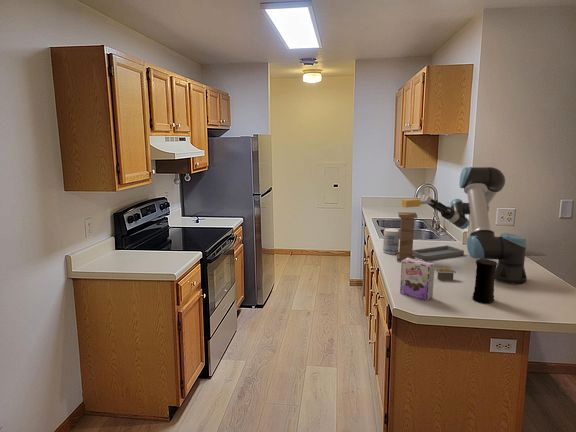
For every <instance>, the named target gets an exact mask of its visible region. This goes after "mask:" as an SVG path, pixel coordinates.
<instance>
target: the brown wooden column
mask: <svg viewBox="0 0 576 432" xmlns="http://www.w3.org/2000/svg"><path fill="white" fill-rule="evenodd" d="M397 214H398V218H400V228H399V250H398V253H397V254H395V255H396V257H397V258H396V257H395V258H396V262H397V261H402V260H403V259H406V258H411V259H415V260H416V257H414V255H412V251H413V250H414V248H413V247H414V230H415V228H414V226H415V219H418V214H417V212H410V211H409V212H407V211H399V212H398V213H397Z"/></svg>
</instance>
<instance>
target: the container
mask: <svg viewBox="0 0 576 432" xmlns="http://www.w3.org/2000/svg"><path fill="white" fill-rule="evenodd" d="M475 264H476V270H475V281H474V282H475V283H474V289H473V293H472V300H473V301H475V302H476V303H479V304H484V305H485V304H486V305H487V304H493V303H494V302H495V294H494V293H495V282H496V281H495V280H496V279H495V273H496V272H495V269H496V267H497V265H498V262H497V261H496V260H493V259H476V261H475Z"/></svg>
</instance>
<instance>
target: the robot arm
mask: <svg viewBox="0 0 576 432" xmlns="http://www.w3.org/2000/svg"><path fill="white" fill-rule="evenodd" d="M505 185H506V177H505V174H504V173H503V172H502V171H501V170H500V169H498V168H496V167H493V166H489V167H487V166H486V167H485V166H484V167H483V166H482V167H479V166H477V167H476V166H475V167H474V166H470V167H463V169H462V170H461V172H460V176H459V187H460V189H463V192H464V193H465V194H466V195H467V201H468V202H464V201H463V200H462V199H460V198H454V199H452V200H451V201H450V206H449V205H448V206H446V205H445V204H443V203H442V202H440V201H439V200H438V199H437V200H436V201H435V200H434V199H435V198H434V199H433V198H432V197H431V196H429V195H427V196H426V195H425V194H423V196H422V198H421V200H427V201H428V202H430V203H431V204H427V205H428V206H430V208H432V209H433V210H434V211H435V210H436V211H438V212H439V213H440V215H441V218H444V219H445V220H447V221H448V223H451V224H452V225H453V226H455V227H456V228H459V229H460V230H465V229H467V228H468V227H469V225H470V221H471V230H472V231H471V232H470V233H469V236H468V237H467V239H466V248H467V252H468V254H469V256H470V257H471V258H472V259H476V260H479V259H488V260H498V262H497V266H496V269H495V272H496V273H495V280H496V281H498V282H501V283H504V284H510V285H523V284H526V283H527V280H528V277H527V274H526V273H527V272H526V268H525V261H526V259H525V258H526V252H527V251H526V249H527V240H526V238H525V237H523V236H520V235H516V234H513V233H505V232H504V233H501V234H500V236H495V235H496V234H495V232H494V230H492V229H491V224H490V218H489V211H490V207H489V205H490V203H491V202H492V201H493V199H494V198H495V196H496V195H497V194H498V193H499V192H501V191H502V189H503V188H504V186H505ZM437 201H438V202H437ZM466 215H470V220H469V219H468V217H466Z"/></svg>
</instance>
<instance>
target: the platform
mask: <svg viewBox="0 0 576 432" xmlns="http://www.w3.org/2000/svg"><path fill="white" fill-rule="evenodd" d="M435 273H437V279H442V281H445V280H446V281H447V280H448V281H453V280H454V274H456V273H457V271H456V270H453V269H452V268H451V267H448V266H445V267H444V266H442V267H440V266H439V267H438V269H436V270H435ZM437 279H436V280H437ZM443 279H444V280H443Z"/></svg>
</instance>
